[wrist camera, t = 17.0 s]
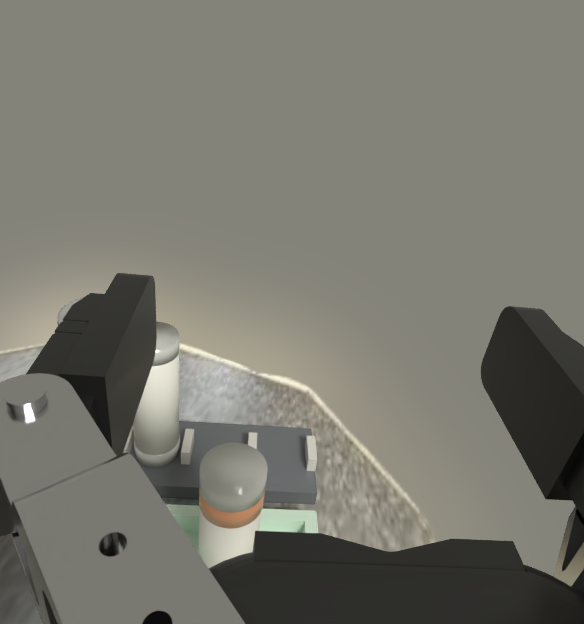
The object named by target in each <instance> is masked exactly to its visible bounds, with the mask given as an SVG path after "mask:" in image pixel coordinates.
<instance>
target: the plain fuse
mask: <svg viewBox="0 0 584 624" xmlns="http://www.w3.org/2000/svg"><path fill="white" fill-rule="evenodd" d="M156 333H157V339H156V351H155V357H154V361H153V365H152V368H151V371H150V374H149V377H148V380H147V383H146V386H145V389H144V392H143V395H142V398H141V401H140V404H139V406H138V409H137V412H136V415H135V418H134V421H133V430H134V453H135V458H136V459H137V461H138V462H139V463H141V464H142V465H144V466H147V467H162V466H166V465H168V464H170V463H171V462H173V461H174V460H175V459H176V458H177V456H178V455H179V452H180V435H179V332H178V330H177V329H176V328H175V327H173V326H172V325H170V324H167V323H162V322H156Z"/></svg>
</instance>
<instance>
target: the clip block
mask: <svg viewBox="0 0 584 624" xmlns="http://www.w3.org/2000/svg"><path fill="white" fill-rule="evenodd" d="M179 435H180V452H179V455H178V456H177V458H176V459H175V460H174V461H173V462H171V463H170V464H168V465H166V466H162V467H147V466H144V465H142V464H141V463H139V462H138V461H137V459H136V458H135V453H134V430H133V424H132V427H131V430H130V433H129V436H128V439H127V442H126V445H125V448H124V451H123V453H126V452H127V453H129V454H131V455H132V456H133V457H134V458H135V460H136V461H137V462H138V464H139V465H140V467H141V468H142V470H143V471H144V473H145V474H146V476H147V477H148V479H149V480H150V482H151V483H152V485H153V486H154V488H155V489H156V491H157V492H158V494H159V495H160V497H170V498H191V499H199V478H200V464H201V461H202V459H203V457H204V456H205V454H206V453H207V452H208V451H209V450H211V449H212V448H214V447H216V446H218V445H221V444H224V443H232V442H233V443H243V444H247V445H249V446H252V447H253V448H255V449H257V450H258V451H259V452H260V453H261V454H262V455H263V456H264V458H265V460H266V462H267V467H268V471H267V480H266V487H265V495H264V502H277V503H299V504H315V500H316V496H317V488H316V477H315V468H316V463H317V453H316V443H315V436H312V432H311V429H304V428H288V427H271V426H254V425H237V424H220V423H203V422H187V421H179Z"/></svg>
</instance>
